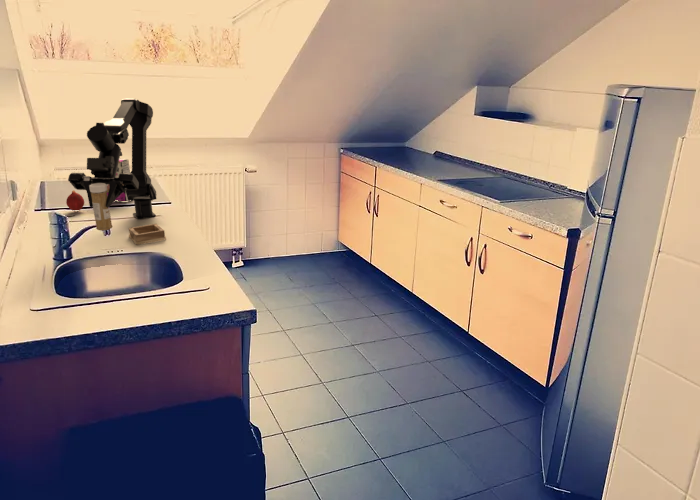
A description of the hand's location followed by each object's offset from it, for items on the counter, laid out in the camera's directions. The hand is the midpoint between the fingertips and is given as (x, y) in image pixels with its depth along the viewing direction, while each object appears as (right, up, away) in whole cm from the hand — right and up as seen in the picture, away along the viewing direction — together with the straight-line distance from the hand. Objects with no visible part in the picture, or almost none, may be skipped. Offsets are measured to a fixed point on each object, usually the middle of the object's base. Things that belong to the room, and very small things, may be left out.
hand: (99, 206), depth 165 cm
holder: (+9, -9, +15) cm, 20 cm away
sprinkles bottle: (0, -6, +4) cm, 7 cm away
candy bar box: (-18, +6, +56) cm, 59 cm away
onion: (-26, +1, +42) cm, 49 cm away
